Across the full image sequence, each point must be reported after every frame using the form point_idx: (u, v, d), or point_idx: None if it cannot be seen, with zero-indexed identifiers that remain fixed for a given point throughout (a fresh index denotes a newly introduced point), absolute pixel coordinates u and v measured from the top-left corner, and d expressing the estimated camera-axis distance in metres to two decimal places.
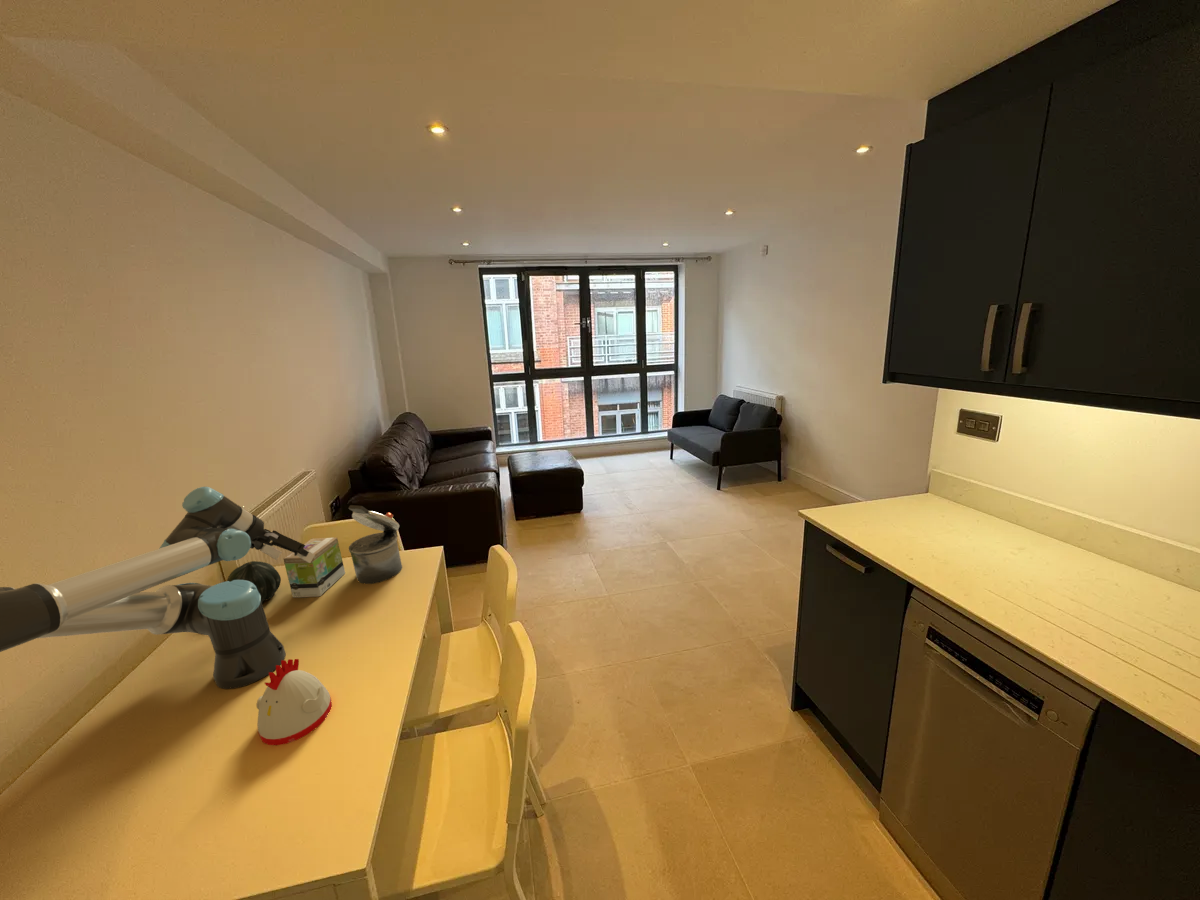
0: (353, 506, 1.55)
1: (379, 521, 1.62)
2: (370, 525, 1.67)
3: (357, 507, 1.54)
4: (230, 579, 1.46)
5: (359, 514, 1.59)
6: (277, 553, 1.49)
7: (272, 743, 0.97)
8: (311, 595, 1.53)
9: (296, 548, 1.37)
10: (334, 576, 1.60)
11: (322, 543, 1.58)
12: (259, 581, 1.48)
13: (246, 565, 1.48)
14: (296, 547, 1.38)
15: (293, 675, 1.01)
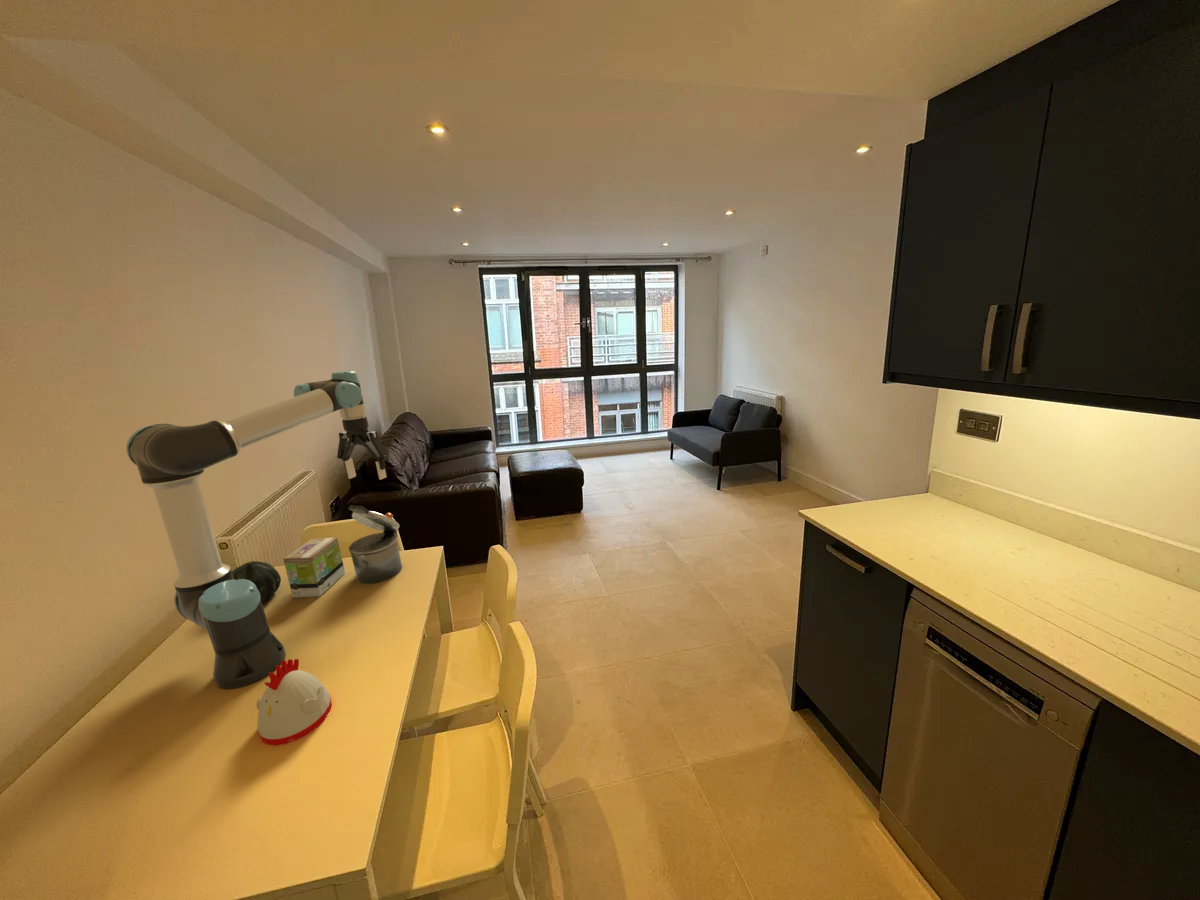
0: (353, 506, 1.55)
1: (379, 522, 1.62)
2: (370, 525, 1.67)
3: (357, 507, 1.54)
4: None
5: (359, 514, 1.59)
6: (353, 473, 1.61)
7: (272, 743, 0.97)
8: (311, 595, 1.53)
9: (383, 453, 1.54)
10: (334, 576, 1.60)
11: (322, 543, 1.58)
12: (259, 581, 1.48)
13: (246, 565, 1.48)
14: (383, 453, 1.54)
15: (293, 675, 1.01)
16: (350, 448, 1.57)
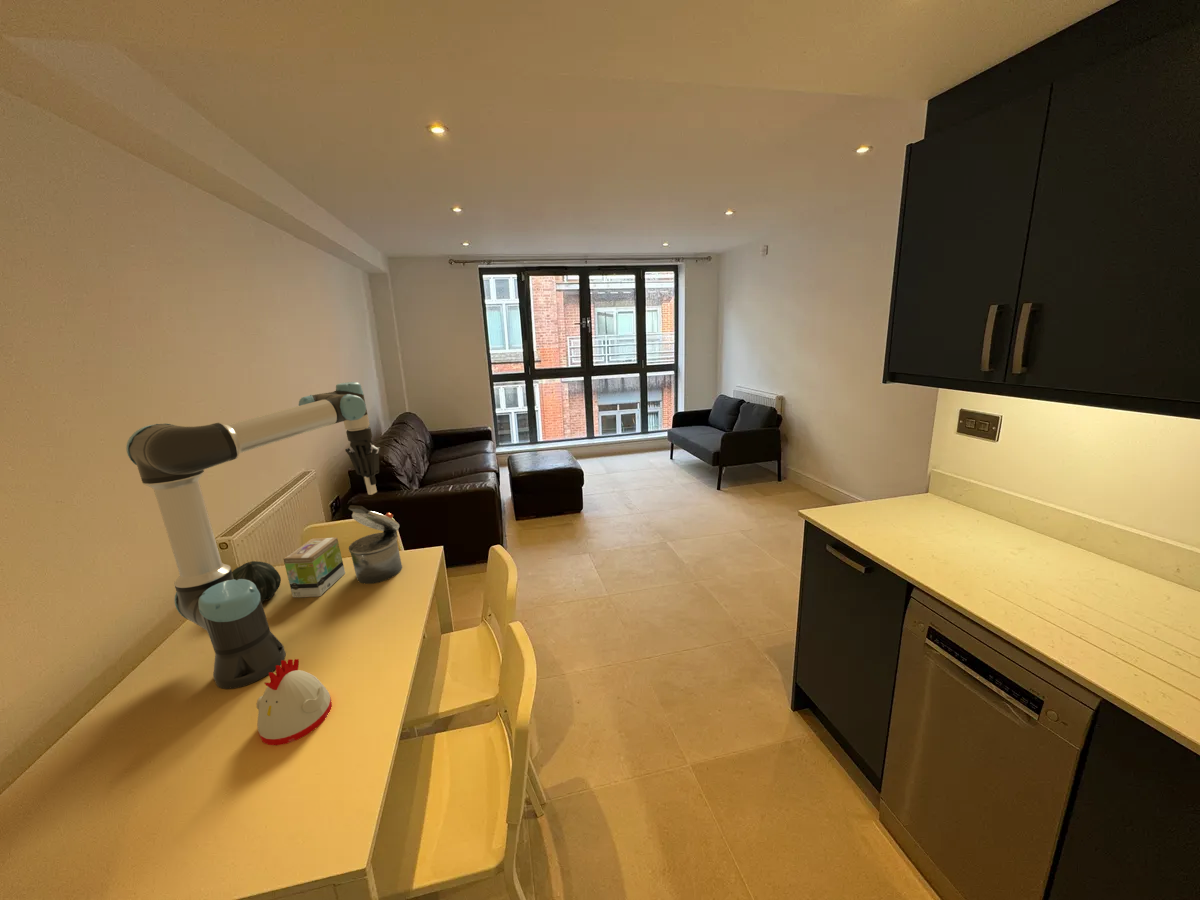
0: (353, 506, 1.55)
1: (379, 522, 1.62)
2: (370, 525, 1.67)
3: (357, 507, 1.54)
4: None
5: (359, 514, 1.59)
6: None
7: (272, 743, 0.97)
8: (311, 595, 1.53)
9: (375, 470, 1.58)
10: (334, 576, 1.60)
11: (322, 543, 1.58)
12: (259, 581, 1.48)
13: (246, 565, 1.48)
14: (375, 469, 1.58)
15: (293, 675, 1.01)
16: (362, 460, 1.58)
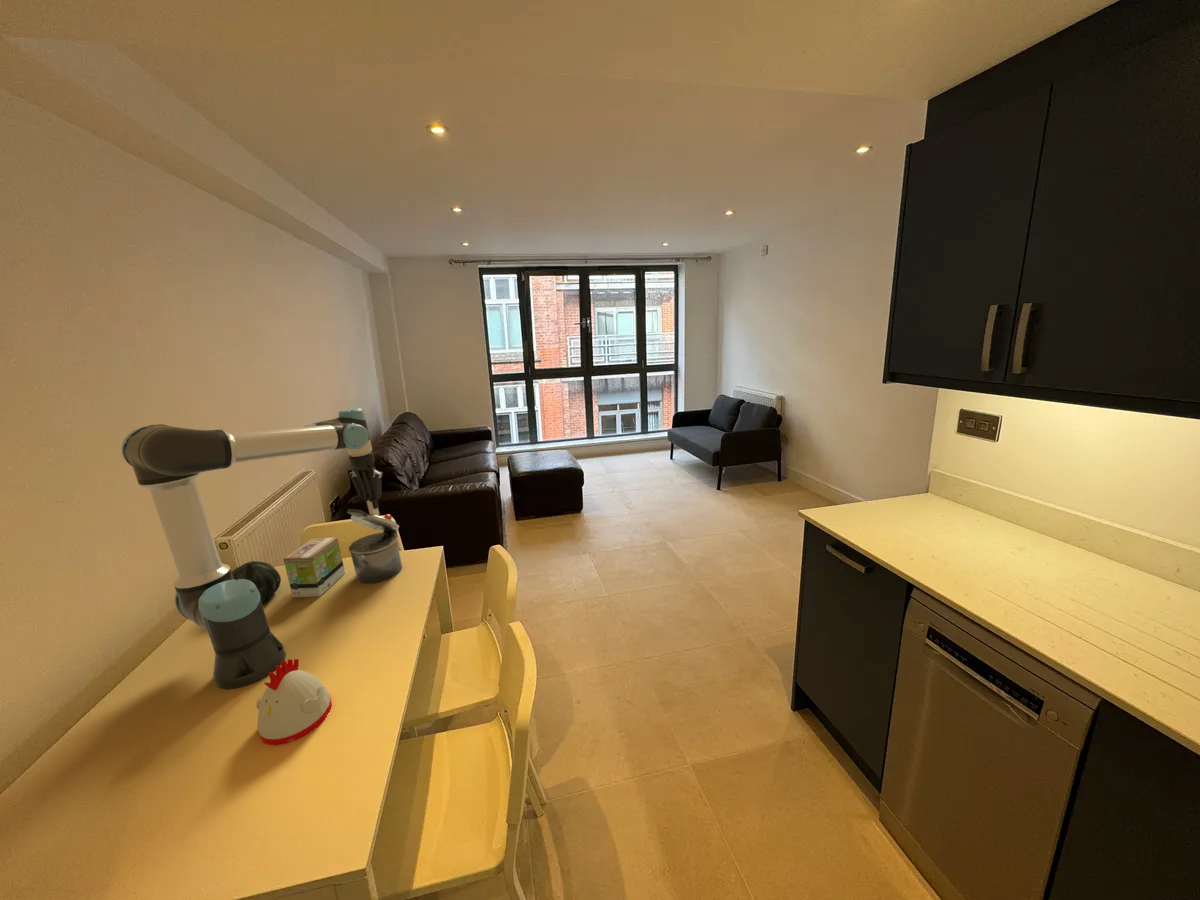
0: (351, 510, 1.54)
1: (378, 523, 1.62)
2: (370, 526, 1.67)
3: (355, 511, 1.53)
4: None
5: (357, 517, 1.58)
6: None
7: (272, 743, 0.97)
8: (311, 595, 1.53)
9: (377, 494, 1.59)
10: (334, 576, 1.60)
11: (322, 543, 1.58)
12: (259, 581, 1.48)
13: (246, 565, 1.48)
14: (378, 494, 1.59)
15: (293, 675, 1.01)
16: (364, 485, 1.59)
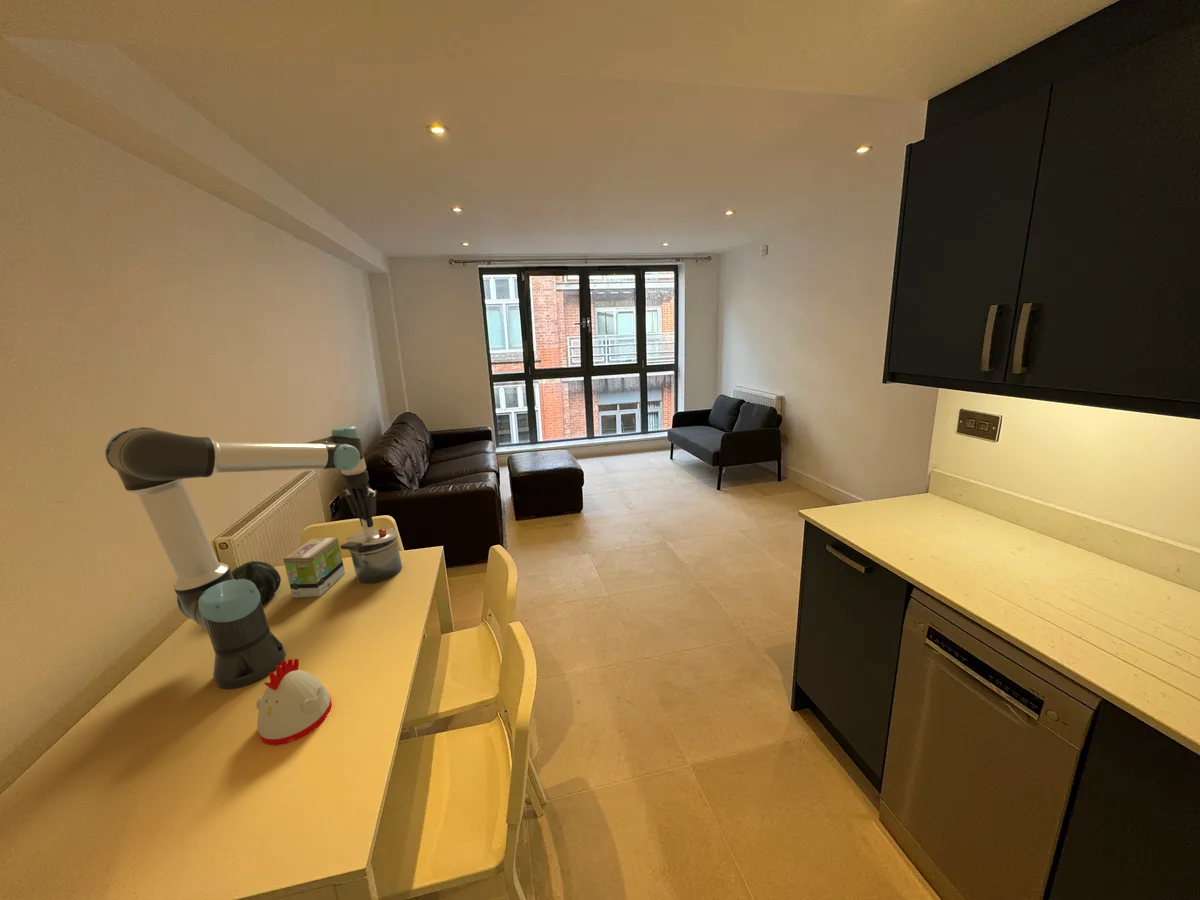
0: (344, 546, 1.52)
1: None
2: None
3: (349, 548, 1.51)
4: None
5: None
6: None
7: (272, 743, 0.97)
8: (311, 595, 1.53)
9: (372, 513, 1.57)
10: (334, 576, 1.60)
11: (322, 543, 1.58)
12: (259, 581, 1.48)
13: (246, 565, 1.48)
14: (372, 512, 1.57)
15: (293, 675, 1.01)
16: (359, 503, 1.57)
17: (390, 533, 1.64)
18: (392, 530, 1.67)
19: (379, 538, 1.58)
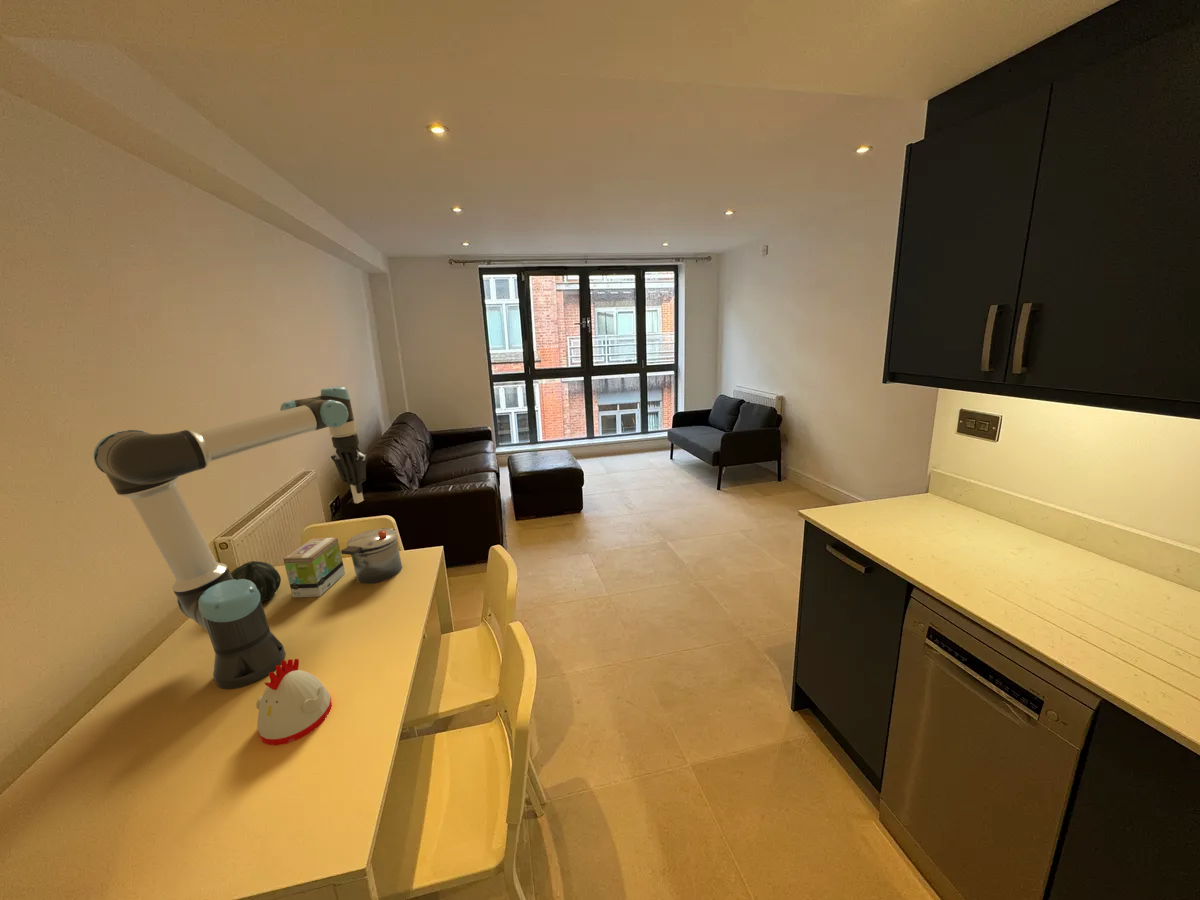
0: (345, 552, 1.52)
1: None
2: None
3: (349, 553, 1.51)
4: None
5: None
6: None
7: (272, 743, 0.97)
8: (311, 595, 1.53)
9: (361, 478, 1.52)
10: (334, 576, 1.60)
11: (322, 543, 1.58)
12: (259, 581, 1.48)
13: (246, 565, 1.48)
14: (362, 477, 1.52)
15: (293, 675, 1.01)
16: (348, 468, 1.52)
17: (390, 534, 1.64)
18: (392, 531, 1.67)
19: (379, 541, 1.58)
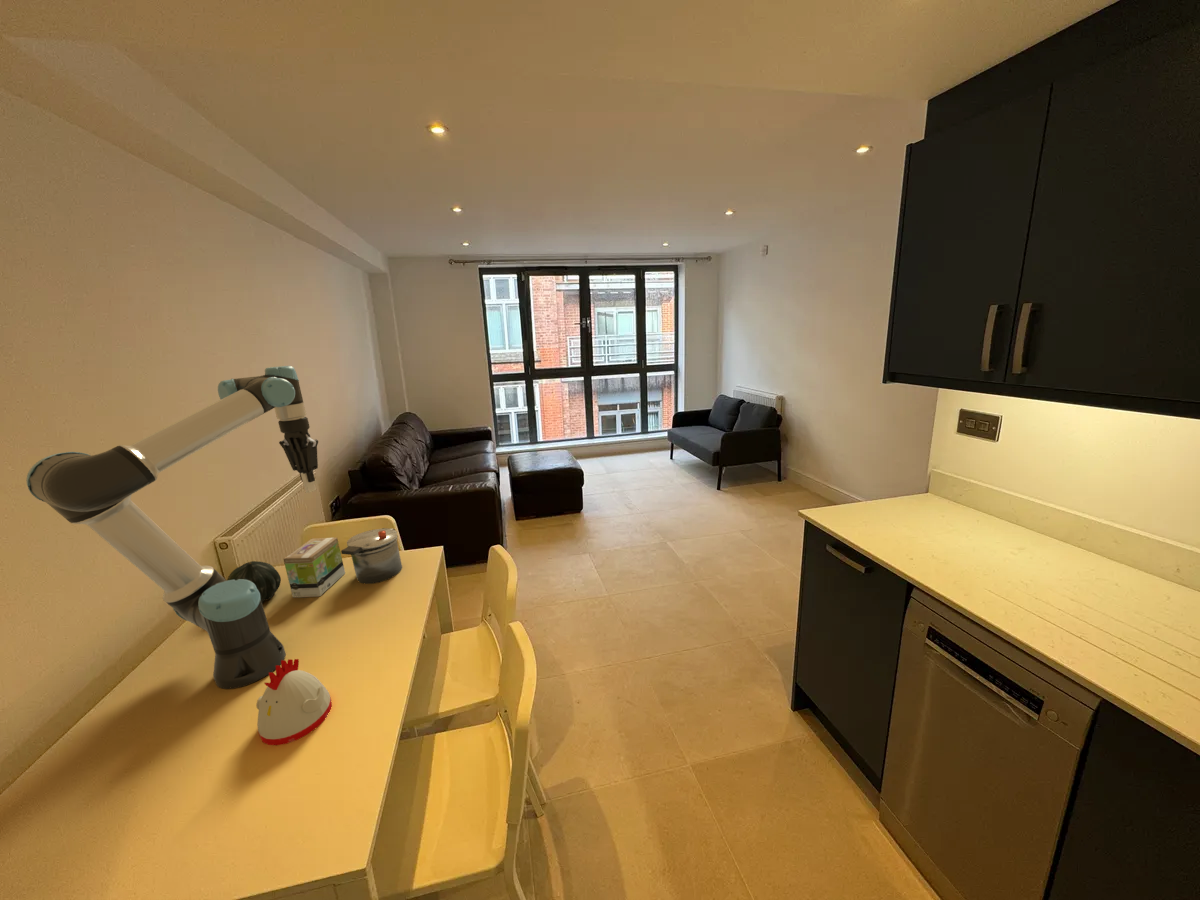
0: (345, 552, 1.52)
1: None
2: None
3: (349, 553, 1.51)
4: (230, 579, 1.46)
5: None
6: None
7: (272, 743, 0.97)
8: (311, 595, 1.53)
9: (312, 465, 1.40)
10: (334, 576, 1.60)
11: (322, 543, 1.58)
12: (259, 581, 1.48)
13: (246, 565, 1.48)
14: (313, 465, 1.41)
15: (293, 675, 1.01)
16: (298, 454, 1.41)
17: (390, 534, 1.64)
18: (392, 531, 1.67)
19: (379, 541, 1.58)
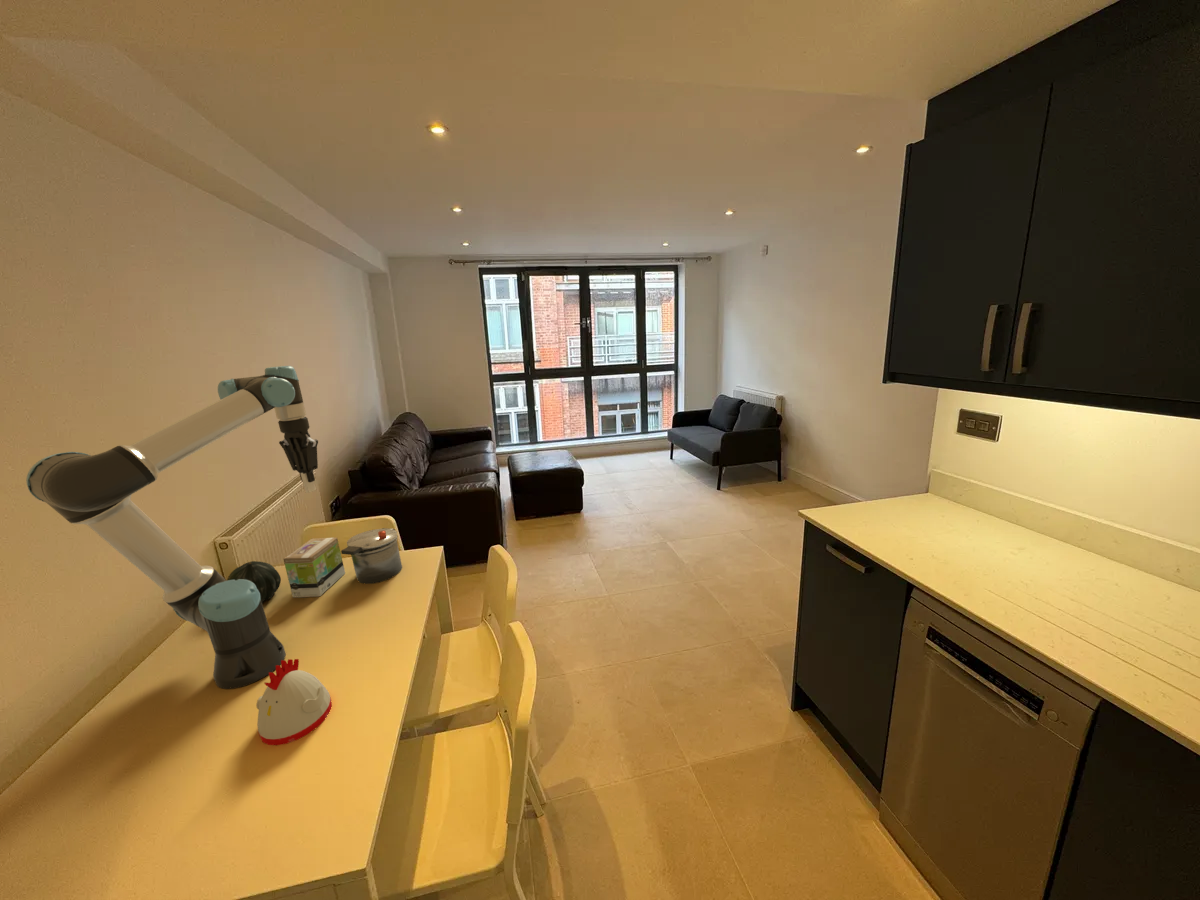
0: (345, 552, 1.52)
1: None
2: None
3: (349, 553, 1.51)
4: (230, 579, 1.46)
5: None
6: None
7: (272, 743, 0.97)
8: (311, 595, 1.53)
9: (312, 465, 1.40)
10: (334, 576, 1.60)
11: (322, 543, 1.58)
12: (259, 581, 1.48)
13: (246, 565, 1.48)
14: (313, 465, 1.41)
15: (293, 675, 1.01)
16: (298, 454, 1.41)
17: (390, 534, 1.64)
18: (392, 531, 1.67)
19: (379, 541, 1.58)
